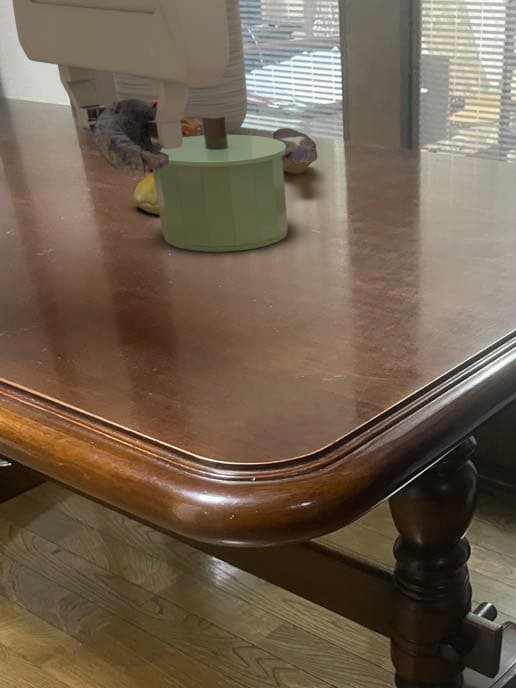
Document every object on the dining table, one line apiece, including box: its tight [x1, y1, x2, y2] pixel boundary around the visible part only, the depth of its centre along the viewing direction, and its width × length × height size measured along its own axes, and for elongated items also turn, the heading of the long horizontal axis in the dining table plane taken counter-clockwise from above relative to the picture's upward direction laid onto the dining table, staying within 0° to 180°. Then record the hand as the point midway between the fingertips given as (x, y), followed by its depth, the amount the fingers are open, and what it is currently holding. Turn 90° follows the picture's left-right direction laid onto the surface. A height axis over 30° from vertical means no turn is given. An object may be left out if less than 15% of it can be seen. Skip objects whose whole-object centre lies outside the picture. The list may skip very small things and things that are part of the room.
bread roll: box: [133, 173, 160, 216], centre depth 106 cm, size 8×9×4 cm
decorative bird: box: [272, 127, 318, 175], centre depth 119 cm, size 6×25×5 cm, turn 14°
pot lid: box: [160, 114, 286, 167], centre depth 92 cm, size 15×15×4 cm
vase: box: [112, 0, 248, 136], centre depth 132 cm, size 20×20×34 cm
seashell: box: [92, 99, 169, 178], centre depth 66 cm, size 5×5×10 cm
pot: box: [152, 156, 289, 253], centre depth 95 cm, size 14×14×8 cm
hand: (130, 139), depth 66 cm, fingers closed on seashell, 7 cm apart
